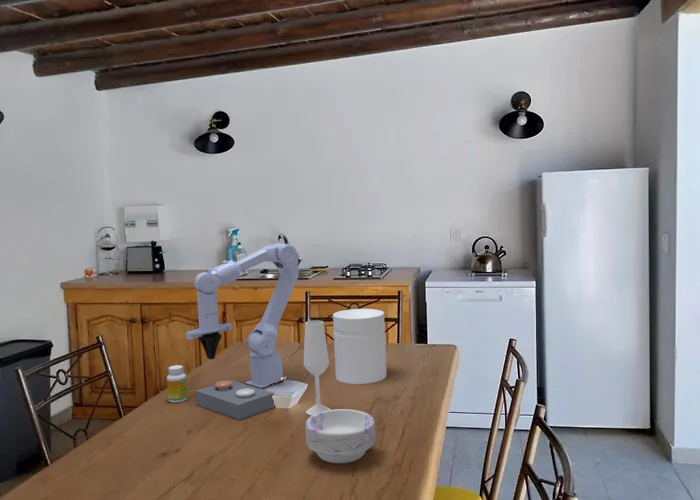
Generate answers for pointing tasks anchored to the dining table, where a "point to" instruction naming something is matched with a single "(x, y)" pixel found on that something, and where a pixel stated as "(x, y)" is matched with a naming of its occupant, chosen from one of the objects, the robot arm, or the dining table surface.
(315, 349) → the champagne flute
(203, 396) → the panel
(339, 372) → the canister
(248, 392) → the grey plunger
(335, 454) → the paper bowls
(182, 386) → the supplement bottle
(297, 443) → the dining table surface
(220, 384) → the red plunger
